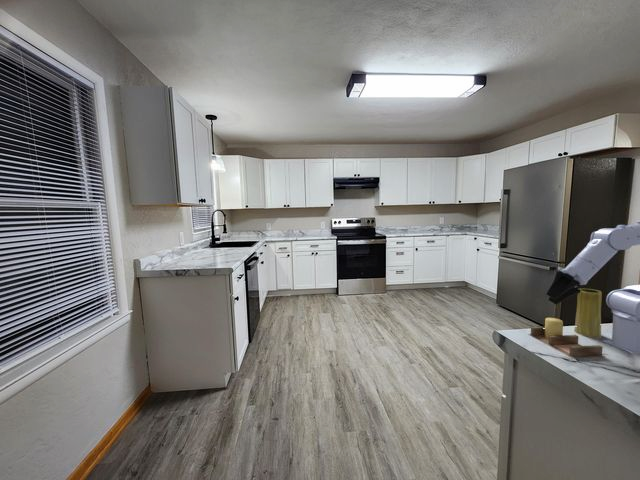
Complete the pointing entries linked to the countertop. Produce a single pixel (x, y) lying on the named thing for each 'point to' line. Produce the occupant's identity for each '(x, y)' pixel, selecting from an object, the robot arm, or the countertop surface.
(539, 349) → the countertop surface
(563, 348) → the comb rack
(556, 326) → the peg
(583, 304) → the vase
